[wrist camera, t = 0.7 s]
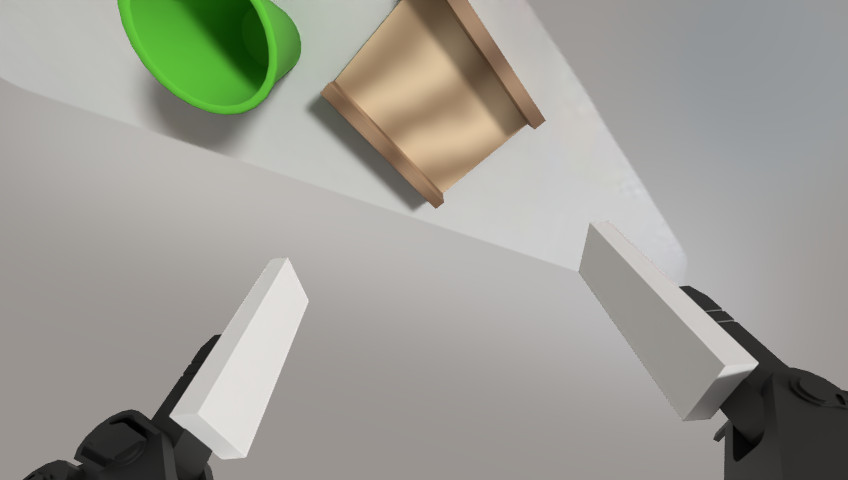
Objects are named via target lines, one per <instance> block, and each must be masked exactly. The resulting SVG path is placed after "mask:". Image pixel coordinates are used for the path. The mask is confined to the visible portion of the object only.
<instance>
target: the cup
mask: <svg viewBox="0 0 848 480" xmlns="http://www.w3.org/2000/svg"><path fill="white" fill-rule="evenodd" d="M118 7H119V12H120V16H121V20H122V24H123V27H124V29H125V31H126V34H127V36H128V38H129V41H130V43H131V45H132V47H133V49H134V50H135V52H136V53H137V55H138V56H139V58H140V59H141V61H142V63H143V64H144V66H145V67H146V68H147V69H148V70H149V71H150V72H151V73H152V75H153V76H154V77H155V78H156V79H157V80H158V81H159V82H160V83H161V84H162V85H163V86H164V87H166V88H167V89H168V90H169V91H170V92H172V93H173V94H174V95H175V96H177V97H179V98H180V99H182V100H184V101H185V102H187V103H189V104H191V105H192V106H194V107H197V108H200V109H202V110H205V111H208V112H211V113H217V114H224V115H232V114H240V113H244V112H247V111H249V110H251V109H254V108H256V107H257V106H258V105H259V104H260V103H261V102H263V101H264V100H265V99H266V98H267V96H268V94H269V93H270V91H271V89H272V87H273V86H274V84H275V83H276V82H277V81H278V80H279V79H280V78H281V77H283V76H284V75H285V74H286V73H287V72H288V71H289V70H290V69H292V68H293V67H294V66H295V65H296V63H297V61H298V60H299V57H300V53H301V41H300V36H299V33H298V30H297V28H296V26H295V24H294V23H293V21H292V19H291V18H290V17H289V16H288V15H287V14H286V13H285V12H284V11H283V10H282V9H280V8H279V7H278V6H276V5H275V4H274V3H272V2H271V1H270V0H118Z"/></svg>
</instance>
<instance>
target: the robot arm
mask: <svg viewBox="0 0 848 480" xmlns="http://www.w3.org/2000/svg"><path fill="white" fill-rule="evenodd" d="M579 273H580V275H581V276H582V278H583V279H584V281H585V282H586V283H587V285H588V286H589V288H590V289H591V291H592V292H593V293H594V295H595V296H596V298H597V299H598V300H599V302H600V303H601V305H602V306H603V308H604V309H605V311H606V312H607V313H608V315H609V316H610V318H611V319H612V321H613V322H614V324H615V325H616V326H617V328H618V329H619V331H620V332H621V333H622V335H623V336H624V337H625V339H626V341H627V342H628V344H629V345H630V346H631V348H632V349H633V351H634V352H635V354H636V355H637V356H638V358H639V359H640V361H641V362H642V363H643V365H644V366H645V368H646V369H647V371H648V372H649V374H650V375H651V376H652V378H653V379H654V381H655V382H656V384H657V385H658V386H659V388H660V389H661V391H662V392H663V394H664V395H665V396H666V398H667V399H668V401H669V402H670V404H671V405H672V406H673V408H674V409H675V411H676V412H677V414H678V415H679V417H680V418H681V419H682V421H693V420H705V419H711V417H713V415H714V414H715V413H716V412H717V410H719V408H720V409H721V410H722V412H723V413H724V414H725V415H726V416H727V418H728V419H729V420H728V421H727V422H726V423H725V424H724V425H723V426H722V427H721V428H720V429H719V430H718V431H717V433H716V434H715V437H714V440H715V441H718V442H719V441H720V440H721V439H722V438H723V437H724V436H725V462H724V464H725V465H724V480H848V391H844V390H841V389H840V388H838V387H837V386H835V385H834V384H832V383H831V382H829V381H827V380H826V379H824V378H822V377H820V376H817V375H815V374H813V373H811V372H808V371H805V370H800V369H797V368H789V367H788V366H787V365H785V364H784V363H783V362H782V361H781V360H779V359H778V358H777V357H776V356H775V355H774V354H773V353H772V352H770V351H769V350H768V349H767V348H766V347H765V346H764V345H762V344H761V343H760V342H759V341H758V340H757V339H756V338H755V337H753V336H752V335H751V334H750V333H749V332H748V331H747V330H745V329H744V328H743V327H742V326H741V325H740V324H739V323H738V322H734V319H733V318H732V317H731V316H730V315H729V314H727V313H726V312H725V311H722V309H721V307H719V306H718V305H717V304H716V303H715V302H714V301H713V300H711V299H710V298H709V297H708V296H707V295H705V294H703V293H701V292H699V291H697V290H696V289H694V288H692V287H690V286H681V287H678V286H677V285H676V284H675V283H674V282H673V281H672V280H671V279H670V278H669V277H668V276H667V275H665V274H664V273H663V272H662V271H661V270H660V269H659V268H658V267H657V266H656V265H655V264H654V263H653V262H652V261H651V260H650V259H649V258H647V257H646V256H645V255H644V254H643V253H642V252H641V251H640V250H639V249H638V248H637V247H636V246H635V245H634V244H633V243H632V242H631V241H630V240H628V239H627V238H626V237H625V236H624V235H623V234H622V233H621V232H620V231H619V230H618V229H617V228H616V227H615V226H614V225H613V224H612V223H610V222H609V221H600V222H591V223H590V224H589V229H588V233H587V238H586V242H585V247H584V251H583V255H582V260H581V264H580V269H579ZM308 301H309V300H308V299H307V296H306V294H305V292H304V290H303V288H302V286H301V284H300V282H299V279H298V277H297V275H296V273H295V271H294V269H293V267H292V265H291V263H290V261H289V259H288V257H284V258H275V259H271V260H270V262H269V263H268V264H267V266H266V268H265V269H264V271H263V272H262V274H261V275H260V277H259V278H258V280H257V281H256V283H255V284H254V286H253V288H252V289H251V291H250V292H249V294H248V295H247V297H246V298H245V300H244V301H243V303H242V305H241V306H240V308H239V309H238V311H237V312H236V314H235V315H234V317H233V318H232V320H231V321H230V323H229V325H228V326H227V328H226V329H225V331H224V332H223V334H221V335H214V336H213V337H212V338H211V339H210V340H209V341H208V342H207V343H206V344H205V345H203V346H202V347H201V348H200V350H199V351H198V353H197V354H196V356H195V357H194V359H193V360H192V363H191V365H189V366H188V367H187V369H186V370H185V372H184V373H183V374H184V375H183V376H182V377H180V379H179V381H178V382H177V383H176V385H175V386H174V388H173V389H172V391H171V392H170V394H169V395H168V396H167V398H166V400H165V401H164V402H163V404H162V405H161V407H160V408H159V410H158V411H157V412H156V414H155V415H154V417H153V418H152V420H149V419H148V418H147V417H146V416H144V415H143V414H142V413H140V412H139V411H136V410H127V411H122V412H120V413H118V414H116V415H113V416H111V417H109V418H108V419H107V420H105V421H104V422H102V423H101V424H99V425H98V426H97V427H96V428H95V429H94V430H93V431H92V432H91V433H90V434H88V435H87V436H86V438H85V439H84V440H83V442H82V443H81V444H80V446H79V447H78V449H77V451H76V454H75V457H74V459H75V460H77V461H79V462H81V463H83V464H81V465H79V466H75V465H73V464H71V463H69V462H67V461H62V460H57V461H54V462H51V463H48V464H45V465H44V466H42V467H40V468H38V469H37V470H35V471H33V472H32V473H31V474H29V475H28V476H27V477H26V478H24V479H23V480H213V475H212V471H211V468H210V466H209V465H208V463H207V461H208V459H209V457H210V455H211V453H212V452H214V453H215V454H216V455H217V456H218V457H220V458H221V459H233V458H245V457H246V456H247V453H248V451H249V448H250V446H251V443H252V441H253V438H254V436H255V433H256V431H257V428H258V426H259V424H260V421H261V418H262V416H263V414H264V411H265V409H266V406H267V403H268V401H269V399H270V396H271V393H272V391H273V389H274V386H275V383H276V381H277V378H278V376H279V374H280V371H281V369H282V366H283V364H284V361H285V359H286V356H287V354H288V351H289V349H290V346H291V344H292V341H293V339H294V336H295V334H296V331H297V329H298V326H299V324H300V321H301V319H302V316H303V314H304V311H305V309H306V306H307V304H308Z"/></svg>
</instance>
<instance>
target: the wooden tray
mask: <svg viewBox="0 0 848 480" xmlns="http://www.w3.org/2000/svg"><path fill="white" fill-rule="evenodd" d="M320 94H321V95H322V96H323V97H324V98H325V99H326V100H327V101H328V102H329V103H330V104H331V105H332V106H333V107H334V108H335V109H336V110H337V111H338V112H339V113H340V114H341V115H342V116H343V117H344V118H345V119H346V120H347V121H348V122H349V123H350V124H351V125H352V126H353V127H354V128H355V129H356V130H357V131H358V132H359V133H360V134H361V135H362V136H363V137H364V138H365V139H366V140H367V141H368V142H369V143H370V144H371V145H372V146H373V147H374V148H375V149H376V150H377V151H378V152H379V153H380V154H381V155H382V156H383V157H384V158H385V159H386V160H387V161H388V162H389V163H390V164H391V165H392V166H393V167H394V168H395V169H396V170H397V171H398V172H399V173H400V174H401V175H402V176H403V177H404V178H405V179H406V180H407V181H408V182H409V183H410V184H411V185H412V186H413V187H414V188H415V189H416V190H417V191H418V192H419V193H420V194H421V195H422V196H423V197H424V198H425V199H426V200H427V201H428V202H429V203H430V204H431V205H432V206H433V207H434V208H435V209H436V208H438V207H439V206H440V205H441V204H443V203H444V200H443V193H444V192H445V191H446V190H447V189H449V188H450V187H451V186H452V185H453V184H455V183H456V182H457V181H458V180H459V179H461V178H462V177H463V176H464V175H466V174H467V173H468V172H469V171H470V170H472V169H473V168H474V167H475V166H477V165H478V164H479V163H480V162H481V161H483V160H484V159H485V158H486V157H488V156H489V155H490V154H491V153H492V152H494V151H495V150H496V149H497V148H498V147H500V146H501V145H502V144H503V143H505V142H506V141H507V140H508V139H509V138H511V137H512V136H513V135H514V134H516V133H517V132H518V131H519V130H520V129H522V128H523V127H524V126H525V125H527V124H528V125H529V126H531V127H532V128H534V129H536V128H537V127H538V126H540V125H541V124H542V123H543V122H544V121H546V120H545V119H544V117H543V116H542V114H541V113H540V111H539V110H538V108H537V106H536V105H535V103H534V102H533V100H532V99H531V97H530V96H529V94H528V93H527V91H526V90H525V88H524V86H523V85H522V83H521V82H520V80H519V79H518V77H517V76H516V74H515V73H514V71H513V69H512V68H511V66H510V65H509V63H508V62H507V60H506V59H505V57H504V56H503V54H502V53H501V51H500V49H499V48H498V46H497V45H496V43H495V42H494V40H493V39H492V37H491V36H490V34H489V32H488V31H487V29H486V28H485V26H484V25H483V23H482V22H481V20H480V19H479V17H478V15H477V14H476V12H475V11H474V9H473V8H472V6H471V5H470V3H469V2H468V0H401V1H400V3H399V4H398V5H397V6H396V7H395V9H394V10H393V11H392V12H391V13H390V15H389V16H388V17H387V18H386V19H385V21H384V22H383V23H382V24H381V25H380V27H379V28H378V29H377V30H376V31H375V33H374V34H373V35H372V36H371V38H370V39H369V40H368V41H367V42H366V44H365V45H364V46H363V47H362V48H361V50H360V51H359V52H358V53H357V54H356V56H355V57H354V58H353V59H352V60H351V62H350V63H349V64H348V65H347V67H346V68H345V69H344V70H343V71H342V73H341V74H340V75H339V76H338V77H337V79H336V80H335V81H333V82H330V83H328V84H327V86H326V87H325V88H324V89H323V91H322V92H321V93H320Z"/></svg>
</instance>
